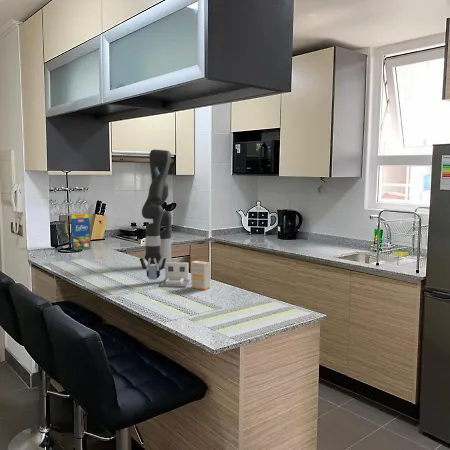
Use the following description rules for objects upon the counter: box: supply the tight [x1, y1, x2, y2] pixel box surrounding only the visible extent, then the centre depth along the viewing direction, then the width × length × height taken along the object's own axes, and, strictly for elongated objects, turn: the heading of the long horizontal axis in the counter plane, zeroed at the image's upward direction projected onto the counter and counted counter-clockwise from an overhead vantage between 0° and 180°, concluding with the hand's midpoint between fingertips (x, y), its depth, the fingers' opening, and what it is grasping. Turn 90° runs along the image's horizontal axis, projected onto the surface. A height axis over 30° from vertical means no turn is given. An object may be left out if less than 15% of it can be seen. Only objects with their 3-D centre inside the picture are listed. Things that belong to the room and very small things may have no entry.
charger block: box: [148, 265, 158, 281], centre depth 233 cm, size 4×4×6 cm
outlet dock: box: [159, 261, 190, 288], centre depth 232 cm, size 13×13×10 cm
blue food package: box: [70, 213, 92, 251], centre depth 329 cm, size 6×12×25 cm, turn 121°
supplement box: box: [190, 260, 211, 291], centre depth 224 cm, size 8×5×13 cm, turn 56°
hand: (153, 277), depth 234 cm, fingers closed on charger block, 4 cm apart
